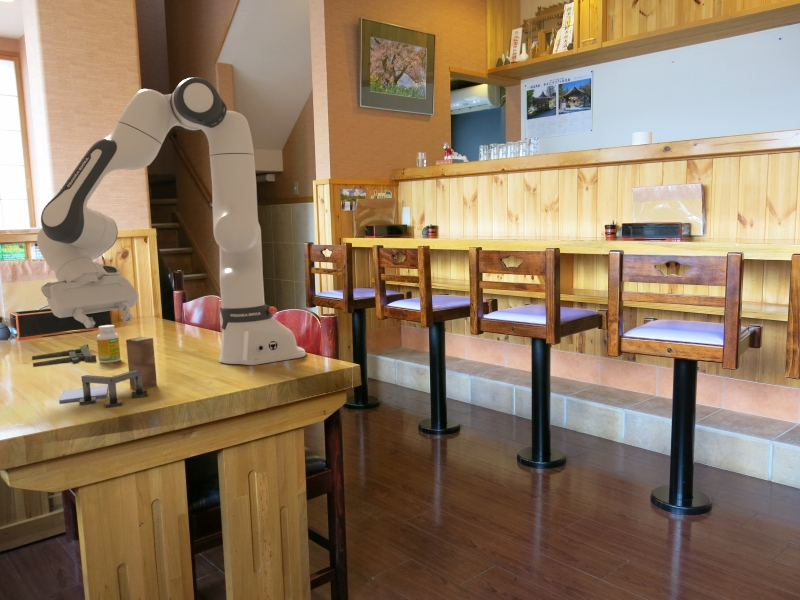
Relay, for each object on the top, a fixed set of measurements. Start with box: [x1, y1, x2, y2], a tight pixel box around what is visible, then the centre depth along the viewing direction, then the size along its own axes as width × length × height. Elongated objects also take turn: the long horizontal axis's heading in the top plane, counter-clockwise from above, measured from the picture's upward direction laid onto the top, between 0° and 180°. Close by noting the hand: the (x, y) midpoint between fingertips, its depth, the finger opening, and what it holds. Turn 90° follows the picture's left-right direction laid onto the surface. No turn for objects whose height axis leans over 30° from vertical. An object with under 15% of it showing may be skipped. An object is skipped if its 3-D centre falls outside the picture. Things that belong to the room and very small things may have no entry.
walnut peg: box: [125, 336, 158, 391], centre depth 147 cm, size 4×4×11 cm
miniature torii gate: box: [31, 343, 97, 368], centre depth 185 cm, size 22×2×15 cm
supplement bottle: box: [96, 324, 121, 364], centre depth 178 cm, size 5×5×10 cm
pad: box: [58, 384, 109, 404], centre depth 143 cm, size 9×9×1 cm
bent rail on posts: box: [78, 369, 148, 408], centre depth 136 cm, size 13×8×6 cm, turn 112°
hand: (110, 322), depth 151 cm, fingers open, 8 cm apart
